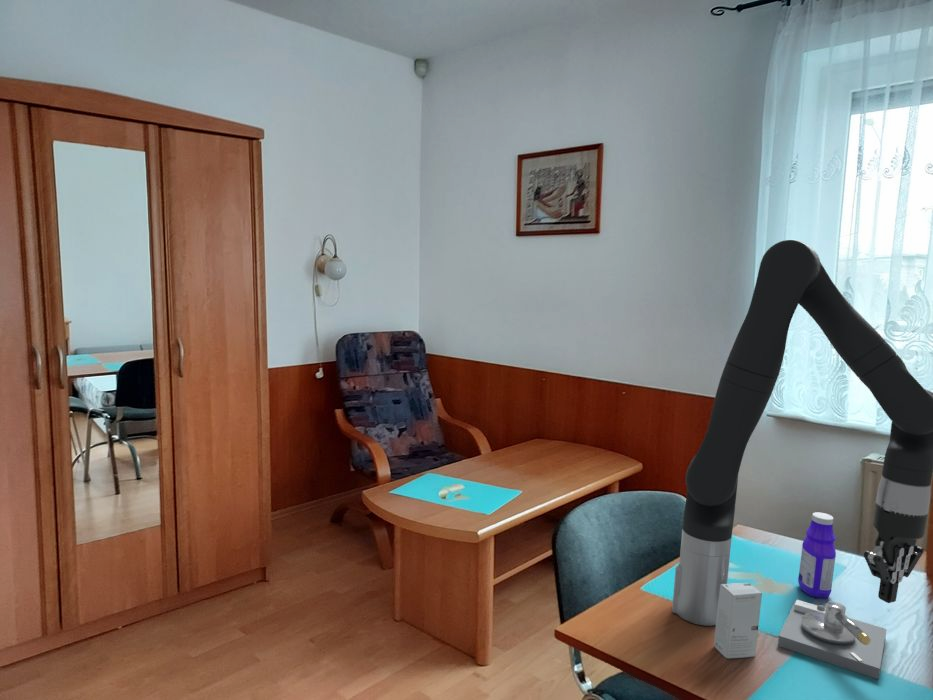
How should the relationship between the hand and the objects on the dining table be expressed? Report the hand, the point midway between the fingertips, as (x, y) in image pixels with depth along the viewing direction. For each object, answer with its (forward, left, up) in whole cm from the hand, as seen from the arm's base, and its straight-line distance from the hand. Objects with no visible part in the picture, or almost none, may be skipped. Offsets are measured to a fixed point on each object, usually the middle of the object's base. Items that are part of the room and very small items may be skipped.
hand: (886, 600), depth 117 cm
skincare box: (-22, -11, -13) cm, 27 cm away
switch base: (-8, +4, -13) cm, 16 cm away
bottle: (-14, +24, -13) cm, 31 cm away
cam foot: (-6, +1, -10) cm, 12 cm away
